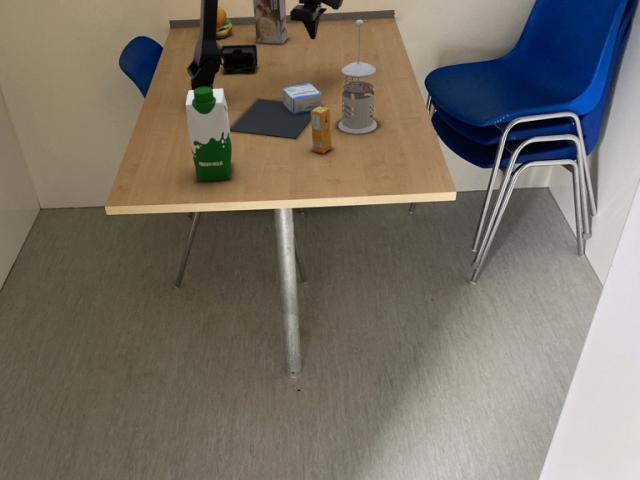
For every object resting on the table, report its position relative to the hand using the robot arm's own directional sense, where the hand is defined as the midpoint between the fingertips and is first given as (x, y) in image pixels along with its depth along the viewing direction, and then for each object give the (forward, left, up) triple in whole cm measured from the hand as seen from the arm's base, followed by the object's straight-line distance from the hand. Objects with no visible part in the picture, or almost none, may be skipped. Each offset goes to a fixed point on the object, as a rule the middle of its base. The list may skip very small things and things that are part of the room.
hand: (313, 39), depth 184 cm
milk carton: (-56, +5, -12) cm, 58 cm away
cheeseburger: (+32, +45, -12) cm, 57 cm away
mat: (-25, +2, -12) cm, 28 cm away
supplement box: (-39, -15, -12) cm, 43 cm away
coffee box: (+31, +25, -12) cm, 42 cm away
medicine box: (-13, +1, -10) cm, 17 cm away
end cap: (+5, +25, -12) cm, 28 cm away
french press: (-23, -19, -12) cm, 32 cm away
